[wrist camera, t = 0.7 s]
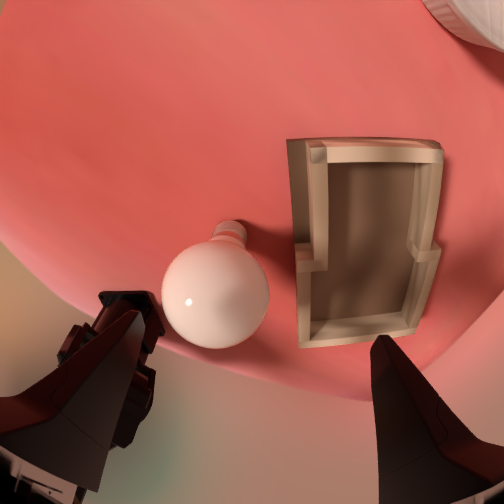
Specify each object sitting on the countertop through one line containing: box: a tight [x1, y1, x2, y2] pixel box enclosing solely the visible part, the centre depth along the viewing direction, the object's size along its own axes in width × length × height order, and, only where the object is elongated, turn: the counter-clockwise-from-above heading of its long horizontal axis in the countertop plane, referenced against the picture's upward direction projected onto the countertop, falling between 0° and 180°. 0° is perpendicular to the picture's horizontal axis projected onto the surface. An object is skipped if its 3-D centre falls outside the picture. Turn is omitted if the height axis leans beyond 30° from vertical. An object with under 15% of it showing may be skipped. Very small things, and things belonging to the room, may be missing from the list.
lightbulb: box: [161, 220, 270, 349], centre depth 18 cm, size 6×6×11 cm
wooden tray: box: [286, 137, 444, 348], centre depth 21 cm, size 12×18×4 cm, turn 7°
